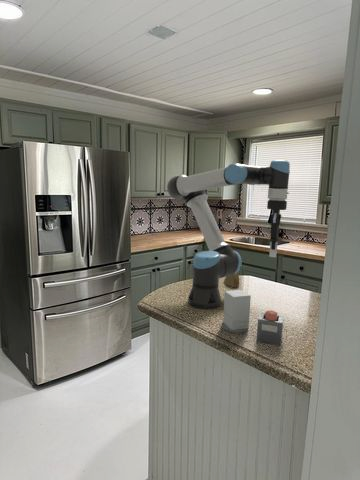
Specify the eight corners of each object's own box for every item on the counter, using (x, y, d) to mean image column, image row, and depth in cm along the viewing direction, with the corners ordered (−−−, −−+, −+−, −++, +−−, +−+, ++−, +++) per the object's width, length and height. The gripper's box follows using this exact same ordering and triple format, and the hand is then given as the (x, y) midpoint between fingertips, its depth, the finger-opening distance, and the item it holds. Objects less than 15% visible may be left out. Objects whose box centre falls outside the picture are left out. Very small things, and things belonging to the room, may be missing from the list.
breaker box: (256, 341, 110) (257, 319, 109) (259, 332, 117) (260, 312, 116) (280, 345, 108) (282, 323, 106) (281, 337, 114) (283, 315, 113)
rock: (244, 284, 169) (243, 277, 178) (235, 272, 167) (234, 265, 177) (227, 294, 172) (227, 286, 181) (218, 282, 170) (218, 275, 180)
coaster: (218, 330, 118) (218, 328, 118) (224, 320, 127) (225, 318, 127) (245, 335, 114) (246, 333, 114) (250, 325, 124) (250, 322, 123)
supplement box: (249, 328, 118) (251, 295, 116) (231, 330, 116) (233, 297, 114) (239, 320, 125) (241, 289, 123) (222, 322, 123) (224, 290, 121)
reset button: (263, 332, 111) (264, 313, 110) (264, 327, 114) (266, 309, 113) (275, 334, 109) (277, 315, 108) (276, 329, 113) (277, 311, 112)
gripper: (286, 200, 122) (280, 260, 126) (287, 199, 134) (283, 254, 138) (265, 199, 125) (261, 258, 129) (269, 199, 137) (265, 253, 141)
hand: (272, 256), depth 133 cm, fingers closed
